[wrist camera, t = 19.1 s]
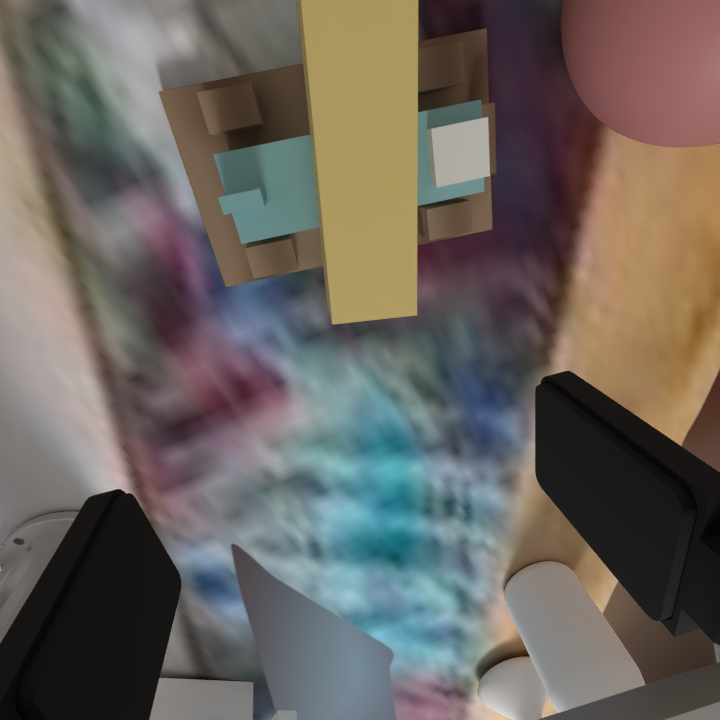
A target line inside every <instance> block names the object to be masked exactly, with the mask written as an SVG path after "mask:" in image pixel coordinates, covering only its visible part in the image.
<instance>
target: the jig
mask: <svg viewBox="0 0 720 720" xmlns="http://www.w3.org/2000/svg"><path fill="white" fill-rule="evenodd" d="M159 94H160V97H161V100H162V103H163V106H164V109H165V112H166V115H167V118H168V121H169V123H170V126H171V129H172V132H173V135H174V138H175V141H176V144H177V147H178V150H179V152H180V155H181V158H182V161H183V164H184V167H185V170H186V173H187V176H188V178H189V181H190V184H191V187H192V190H193V193H194V196H195V199H196V202H197V205H198V207H199V210H200V213H201V216H202V219H203V222H204V225H205V228H206V231H207V233H208V236H209V239H210V242H211V245H212V248H213V251H214V254H215V257H216V260H217V262H218V265H219V268H220V271H221V274H222V277H223V280H224V283H225V286H226V287H228V286H233V285H238V284H242V283H247V282H251V281H256V280H261V279H265V278H270V277H274V276H279V275H284V274H288V273H293V272H297V271H302V270H307V269H311V268H316V267H320V266H323V257H322V247H321V237H320V227H318V228H314V229H309V230H304V231H300V232H295V233H291V234H286V235H281V236H277V237H272V238H267V239H263V240H258V241H253V242H249V243H244V244H241V241H240V238H239V235H238V231H237V228H236V225H235V222H234V219H233V216H232V213H231V214H226V215H223V211H222V208H221V205H220V202H219V199H218V197H220V196H222V195H224V194H225V190H224V187H223V184H222V181H221V177H220V174H219V171H218V168H217V165H216V161H215V158H214V155H213V154H218V153H223V152H228V151H233V150H237V149H242V148H247V147H252V146H257V145H262V144H267V143H272V142H276V141H281V140H286V139H291V138H296V137H301V136H306V135H310V127H309V117H308V107H307V97H306V87H305V77H304V67H303V64H299V65H294V66H289V67H284V68H278V69H273V70H268V71H263V72H258V73H253V74H247V75H242V76H237V77H232V78H227V79H222V80H216V81H211V82H206V83H201V84H196V85H191V86H185V87H180V88H175V89H170V90H165V91H160V92H159ZM476 100H481V111H482V118H485V117H488V127H489V159H490V176H488V177H484V191H485V192H480V193H476V194H471V195H466V196H462V197H457V198H453V199H448V200H443V201H439V202H434V203H429V204H425V205H420V206H417V245H422V244H426V243H431V242H435V241H440V240H445V239H449V238H454V237H458V236H463V235H468V234H472V233H477V232H482V231H486V230H491V229H492V202H491V174H495V173H496V135H495V102H494V103H489V94H488V58H487V28H485V29H480V30H475V31H470V32H464V33H459V34H454V35H449V36H444V37H439V38H433V39H428V40H423V41H418V112H422V111H427V110H432V109H437V108H442V107H447V106H452V105H456V104H461V103H466V102H471V101H476Z"/></svg>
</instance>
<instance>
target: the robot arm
mask: <svg viewBox="0 0 720 720" xmlns="http://www.w3.org/2000/svg"><path fill="white" fill-rule="evenodd" d="M535 472H536V477H537V480H538V483H539V484H540V486H541V488H542V489H543V490H544V491H545V493H546V494H547V495H548V496H549V497H550V499H551V500H552V501H553V502H554V503H555V505H556V506H557V507H558V508H559V509H560V511H561V512H562V513H563V514H564V516H565V517H566V518H567V519H568V520H569V522H570V523H571V524H572V525H573V526H574V528H575V529H576V530H577V531H578V532H579V534H580V535H581V536H582V537H583V538H584V540H585V541H586V542H587V543H588V544H589V546H590V547H591V548H592V549H593V551H594V552H595V553H596V554H597V555H598V557H599V558H600V559H601V560H602V561H603V563H604V564H605V565H606V566H607V567H608V569H609V570H610V571H611V572H612V573H613V575H614V576H615V577H616V578H617V579H618V581H619V582H620V583H621V584H622V586H623V587H624V588H625V589H626V590H627V592H628V593H629V594H630V595H631V596H632V597H633V598H634V600H635V601H636V602H637V604H638V605H639V606H640V607H641V608H642V610H643V611H644V612H645V613H646V614H647V615H648V616H649V617H650V618H652V619H653V620H655V621H659V620H660V621H661V622H662V623H663V624H664V625H665V627H666V628H667V629H668V630H669V631H670V633H671V634H672V635H673V636H674V637H676V636H679V635H682V634H685V633H688V632H691V631H695V630H698V629H702V630H703V632H704V633H705V634H706V635H707V636H708V637H709V638H710V639H711V640H712V641H713V642H714V646H715V653H716V660H717V663H715V664H712V665H709V666H705V667H702V668H699V669H695V670H692V671H688V672H685V673H682V674H678V675H675V676H672V677H668V678H665V679H662V680H659V681H656V682H653V683H650V684H647V685H643V686H640V687H637V688H634V689H631V690H628V691H625V692H622V693H619V694H616V695H612V696H609V697H606V698H603V699H600V700H597V701H594V702H591V703H588V704H585V705H582V706H579V707H575V708H572V709H569V710H566V711H563V712H560V713H557V714H554V715H551V716H548V717H545V718H541V719H538V720H720V473H719V472H718V471H716V470H715V469H713V468H712V467H711V466H709V465H707V464H706V463H705V462H703V461H702V460H700V459H699V458H697V457H696V456H695V455H693V454H691V453H690V452H688V451H687V450H686V449H684V448H683V447H681V446H680V445H678V444H677V443H675V442H674V441H672V440H671V439H670V438H668V437H667V436H665V435H664V434H662V433H661V432H659V431H658V430H656V429H655V428H653V427H652V426H650V425H649V424H648V423H646V422H645V421H643V420H642V419H640V418H639V417H637V416H636V415H634V414H633V413H631V412H630V411H628V410H627V409H625V408H624V407H623V406H621V405H620V404H618V403H617V402H615V401H614V400H612V399H611V398H609V397H608V396H606V395H605V394H603V393H602V392H601V391H599V390H598V389H596V388H595V387H593V386H592V385H590V384H589V383H587V382H586V381H584V380H583V379H581V378H580V377H578V376H577V375H576V374H574V373H572V372H570V371H565V372H561V373H557V374H553V375H550V376H546V377H544V378H543V379H542V381H541V384H540V385H538V386H537V387H536V391H535ZM0 566H1V571H0V720H149V719H150V715H151V711H152V706H153V702H154V698H155V694H156V690H157V686H158V682H159V678H160V674H161V669H162V665H163V661H164V657H165V653H166V649H167V645H168V641H169V637H170V632H171V628H172V624H173V620H174V616H175V612H176V608H177V604H178V600H179V595H180V591H181V578H180V574H179V572H178V570H177V569H176V567H175V565H174V564H173V562H172V560H171V558H170V557H169V555H168V553H167V551H166V550H165V548H164V546H163V545H162V543H161V541H160V539H159V538H158V536H157V534H156V533H155V531H154V529H153V527H152V526H151V524H150V522H149V521H148V519H147V517H146V515H145V514H144V512H143V510H142V509H141V507H140V505H139V503H138V502H137V500H136V498H135V497H134V496H133V495H132V494H130V493H128V494H126V493H125V492H124V491H122V490H121V489H117V490H113V491H109V492H105V493H101V494H98V495H94V496H91V497H89V498H88V499H87V500H86V501H85V503H84V505H83V506H82V508H81V510H80V511H79V512H76V511H73V512H57V513H51V514H45V515H42V516H39V517H36V518H33V519H31V520H29V521H27V522H25V523H24V524H22V525H21V526H20V527H18V528H17V529H16V530H15V531H14V532H13V533H12V534H11V536H10V537H9V538H8V539H7V541H6V542H5V544H4V546H3V548H2V550H1V553H0Z"/></svg>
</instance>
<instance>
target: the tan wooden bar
mask: <svg viewBox="0 0 720 720" xmlns="http://www.w3.org/2000/svg"><path fill="white" fill-rule="evenodd" d="M297 7H298V17H299V27H300V37H301V47H302V57H303V67H304V77H305V87H306V97H307V107H308V117H309V127H310V137H311V147H312V157H313V167H314V177H315V187H316V197H317V207H318V217H319V227H320V237H321V247H322V257H323V267H324V277H325V287H326V297H327V303H328V308H329V312H330V316H331V321H332V324H341V323H350V322H359V321H368V320H378V319H387V318H396V317H405V316H414V315H417V183H418V0H297Z"/></svg>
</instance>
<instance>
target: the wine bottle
mask: <svg viewBox="0 0 720 720" xmlns="http://www.w3.org/2000/svg"><path fill="white" fill-rule="evenodd" d="M504 599H505V604H506V607H507V609H508V611H509V613H510V615H511V617H512V619H513V622H514V624H515V626H516V628H517V630H518V632H519V634H520V636H521V638H522V641H523V643H524V645H525V647H526V649H527V651H528V653H529V655H530V658H531V660H532V662H533V664H534V666H535V668H536V670H537V672H538V675H539V677H540V679H541V681H542V683H543V685H544V687H545V689H546V691H547V694H548V696H549V698H550V700H551V702H552V704H553V706H554V707H555V709H556V710H557V712H558V713H560V712H563V711H566V710H569V709H572V708H575V707H579V706H582V705H585V704H588V703H591V702H594V701H597V700H600V699H603V698H606V697H609V696H612V695H616V694H619V693H622V692H625V691H628V690H631V689H634V688H637V687H640V686H643V685H645V682H644V680H643V677H642V675H641V672H640V670H639V669H638V667H637V665H636V664H635V662H634V661H633V659H632V658H631V656H630V655H629V653H628V652H627V650H626V649H625V647H624V646H623V644H622V643H621V642H620V640H619V638H618V637H617V635H616V634H615V632H614V631H613V629H612V628H611V626H610V625H609V623H608V622H607V620H606V619H605V618H604V616H603V615H602V613H601V612H600V610H599V609H598V607H597V606H596V604H595V603H594V601H593V600H592V598H591V597H590V595H589V594H588V592H587V591H586V589H585V588H584V586H583V585H582V583H581V582H580V580H579V579H578V577H577V576H576V574H575V573H574V572H573V571H572V570H571V569H570V568H569V567H567V566H566V565H564V564H562V563H559V562H554V561H544V562H538V563H535V564H532V565H529V566H527V567H525V568H523V569H522V570H520V571H519V572H517V573H516V574H515V575H514V576H513V577H512V578H511V579H510V580H509V582H508V583H507V585H506V588H505V591H504Z"/></svg>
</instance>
